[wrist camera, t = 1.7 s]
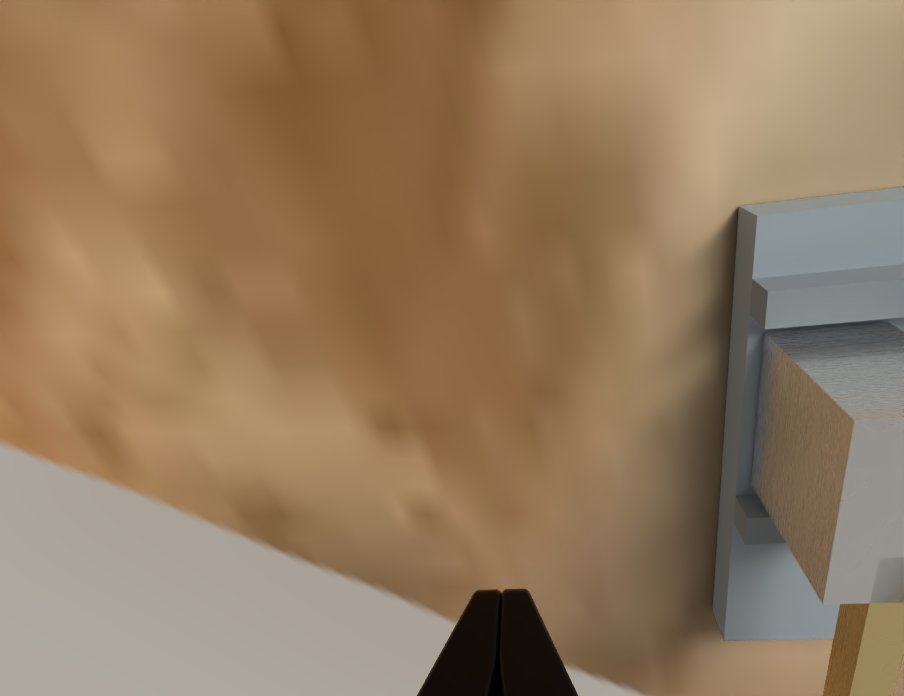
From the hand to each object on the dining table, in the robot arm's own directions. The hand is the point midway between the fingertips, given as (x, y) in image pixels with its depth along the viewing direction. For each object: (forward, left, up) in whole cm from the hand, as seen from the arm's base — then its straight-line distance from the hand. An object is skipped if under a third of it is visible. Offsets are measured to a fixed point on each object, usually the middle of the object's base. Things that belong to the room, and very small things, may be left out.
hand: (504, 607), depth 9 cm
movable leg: (-7, +2, -5) cm, 9 cm away
